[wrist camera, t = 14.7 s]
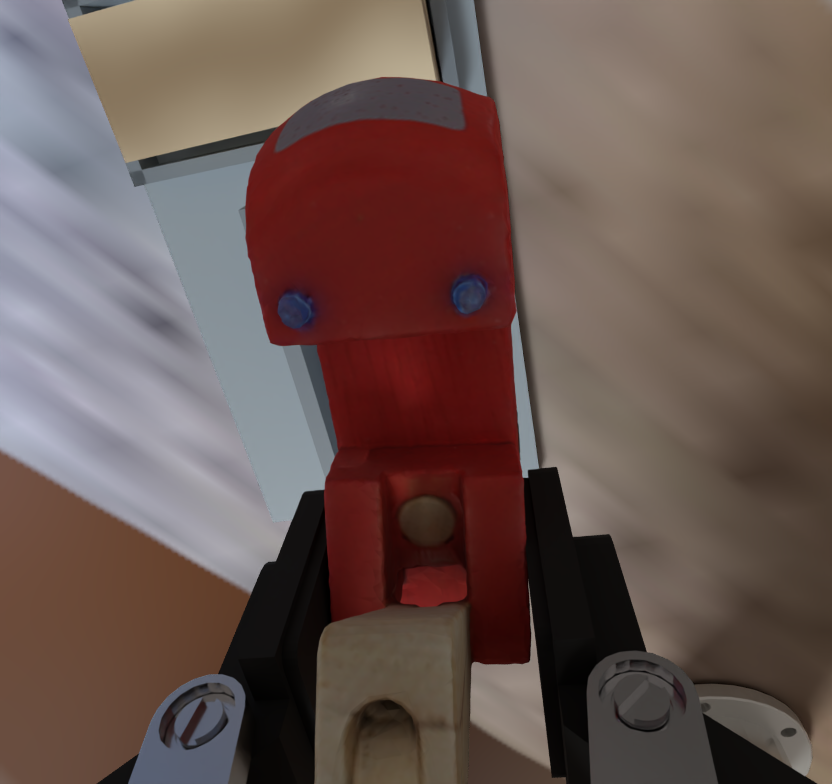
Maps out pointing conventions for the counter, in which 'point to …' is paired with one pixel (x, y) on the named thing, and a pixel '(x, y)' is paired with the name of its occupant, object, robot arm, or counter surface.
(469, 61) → the board
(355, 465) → the toy fire truck
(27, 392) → the counter surface
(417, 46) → the tan long rectangular block
